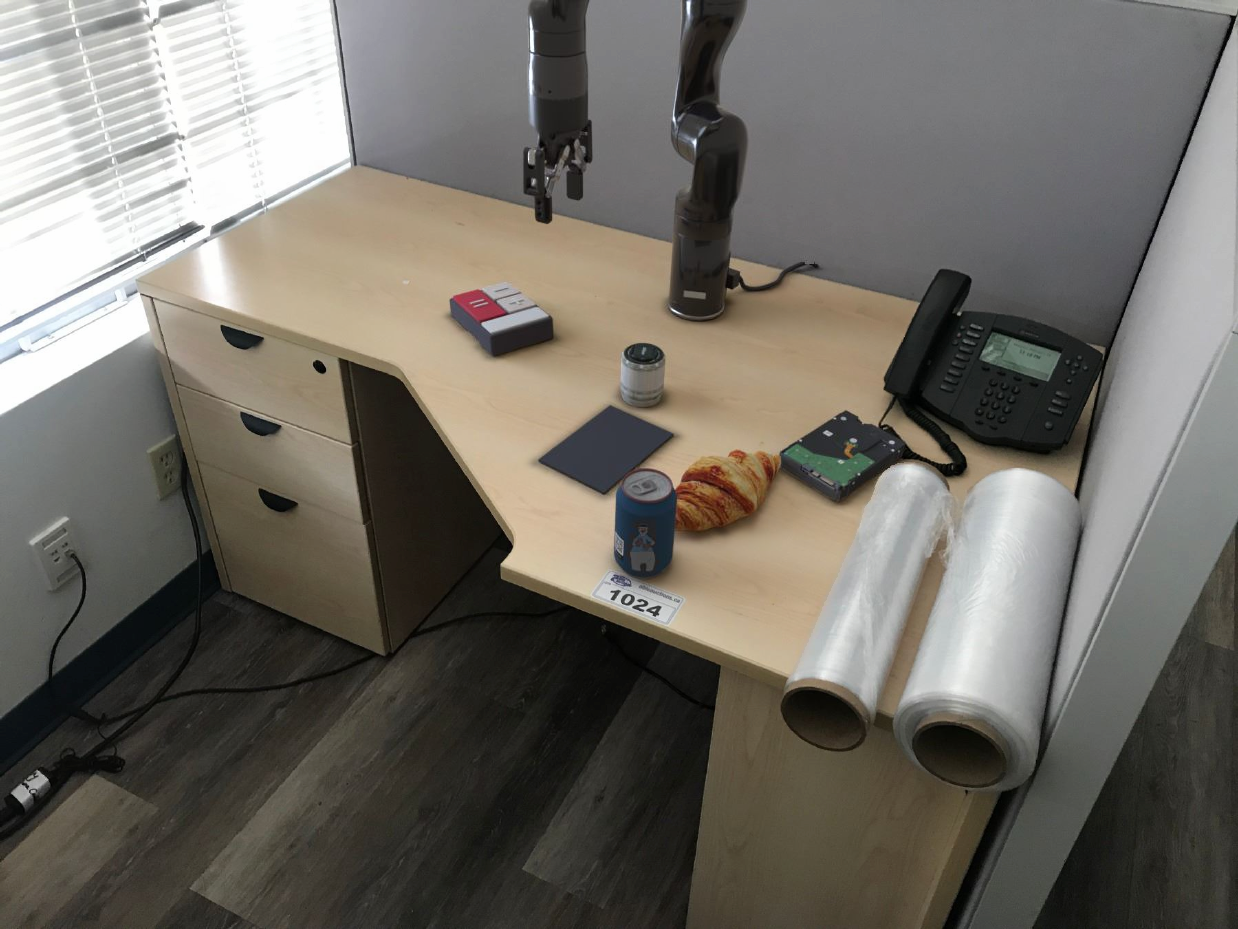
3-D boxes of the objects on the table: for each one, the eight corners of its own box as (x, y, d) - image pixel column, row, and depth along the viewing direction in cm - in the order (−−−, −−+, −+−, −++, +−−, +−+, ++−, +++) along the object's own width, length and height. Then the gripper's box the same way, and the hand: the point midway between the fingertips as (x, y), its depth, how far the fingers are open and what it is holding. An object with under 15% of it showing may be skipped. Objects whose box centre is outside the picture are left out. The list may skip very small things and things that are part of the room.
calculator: (508, 277, 163) (553, 313, 153) (510, 301, 166) (554, 337, 156) (447, 294, 159) (490, 332, 148) (450, 318, 161) (492, 357, 151)
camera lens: (617, 406, 142) (618, 360, 137) (623, 382, 147) (624, 336, 142) (660, 411, 141) (663, 364, 136) (665, 386, 146) (668, 341, 141)
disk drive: (840, 424, 140) (775, 467, 132) (844, 408, 139) (778, 450, 130) (903, 458, 135) (838, 505, 126) (907, 441, 133) (842, 488, 124)
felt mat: (610, 407, 142) (610, 404, 142) (673, 435, 137) (673, 433, 137) (538, 461, 132) (538, 459, 131) (604, 494, 127) (604, 492, 126)
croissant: (757, 478, 135) (742, 424, 133) (813, 483, 127) (799, 425, 125) (646, 546, 124) (628, 487, 121) (700, 555, 116) (683, 493, 113)
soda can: (653, 535, 121) (658, 458, 113) (682, 571, 116) (690, 493, 109) (603, 552, 118) (605, 475, 111) (631, 590, 114) (635, 511, 106)
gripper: (556, 109, 116) (558, 236, 126) (610, 75, 126) (608, 196, 136) (501, 98, 118) (507, 224, 129) (559, 66, 128) (561, 185, 139)
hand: (559, 209), depth 132 cm, fingers open, 8 cm apart
